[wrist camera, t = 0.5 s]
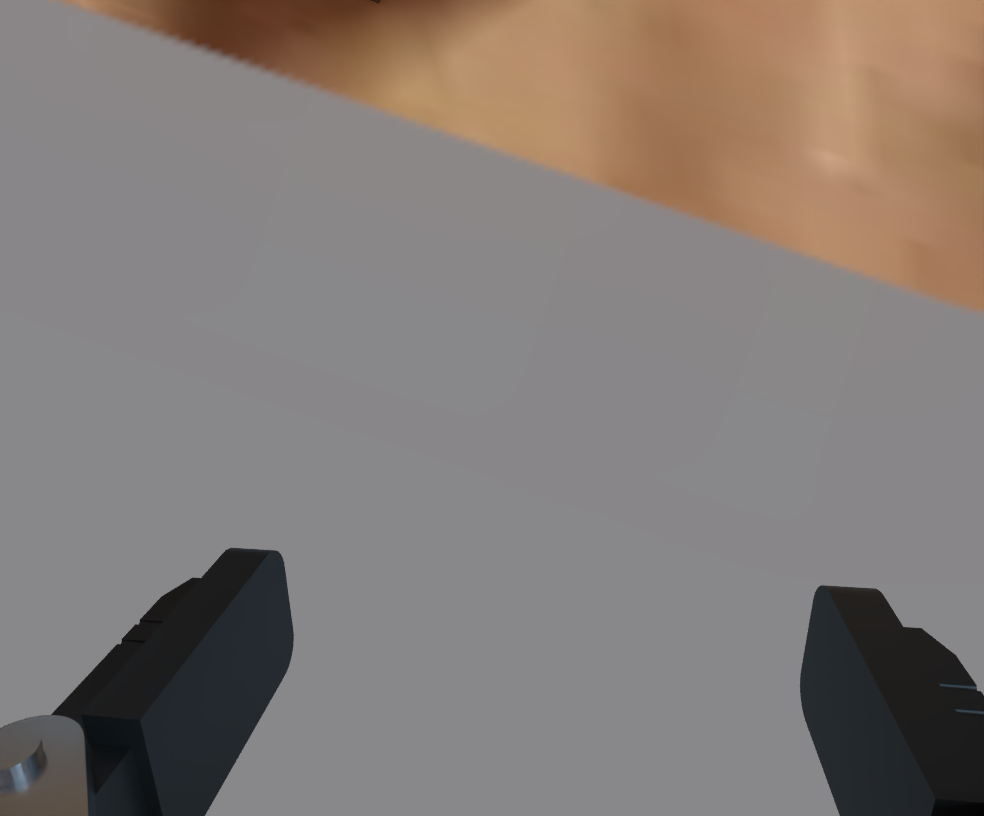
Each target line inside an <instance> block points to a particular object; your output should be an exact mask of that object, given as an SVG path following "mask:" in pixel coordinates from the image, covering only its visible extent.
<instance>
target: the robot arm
mask: <svg viewBox="0 0 984 816" xmlns="http://www.w3.org/2000/svg"><path fill="white" fill-rule="evenodd" d="M293 636H294V634H293V625H292V618H291V610H290V603H289V596H288V589H287V581H286V573H285V566H284V561H283V558H282V556H281V554H280V553H279V552H278V551H274V550H258V549H241V548H230V549H228V550H226V551H225V552H224V553H223V554H222V555H221V556H220V557H219V558H218V560H217V561H216V562H215V563H214V564H213V565H212V566H211V568H210V569H209V570H208V571H207V572H206V573H205V574H204V576H203V577H202V578H191V579H190V580H188V581H186V582H185V583H183V584H182V585H180V586H178V587H177V588H175V589H173V590H172V591H170V592H168V593H167V594H165V595H163V596H162V597H161V598H160V599H159V600H158V601H157V602H156V603H155V604H154V605H153V606H152V607H151V609H150V610H149V611H148V612H147V613H146V614H145V615H144V616H143V617H142V618H141V619H140V623H139V625H135V626H134V627H133V628H132V629H131V630H130V631H129V632H128V633H127V634H126V635H125V636H124V637H123V638H122V643H121V644H117V645H116V646H115V647H114V648H113V649H112V650H111V651H110V652H109V653H108V655H107V656H106V657H105V658H104V659H103V660H102V661H101V662H100V663H99V664H98V665H97V666H96V667H95V668H94V670H93V671H92V672H91V673H90V674H89V675H88V676H87V677H86V678H85V679H84V680H83V681H82V682H81V684H79V686H78V687H77V688H76V689H75V690H74V691H73V692H72V693H71V694H70V695H69V696H68V697H67V698H66V700H65V701H64V702H63V703H62V704H61V705H60V706H59V707H58V708H57V709H56V710H55V711H54V712H53V714H51V715H43V716H36V717H30V718H26V719H23V720H19V721H16V722H13V723H11V724H8V725H6V726H3V727H1V728H0V816H205V814H206V812H207V811H208V809H209V807H210V806H211V804H212V802H213V800H214V799H215V797H216V795H217V793H218V792H219V790H220V788H221V786H222V785H223V783H224V781H225V779H226V778H227V776H228V774H229V772H230V771H231V769H232V767H233V765H234V764H235V762H236V760H237V758H238V757H239V755H240V753H241V751H242V749H243V747H244V746H245V744H246V743H247V741H248V739H249V737H250V735H251V734H252V732H253V730H254V728H255V727H256V725H257V723H258V721H259V720H260V718H261V716H262V714H263V713H264V711H265V709H266V707H267V706H268V704H269V702H270V700H271V699H272V697H273V695H274V693H275V692H276V690H277V688H278V686H279V685H280V683H281V681H282V679H283V677H284V676H285V674H286V671H287V669H288V667H289V664H290V660H291V656H292V651H293V639H294V638H293ZM800 693H801V703H802V709H803V713H804V717H805V721H806V723H807V726H808V729H809V732H810V734H811V737H812V740H813V742H814V745H815V748H816V751H817V754H818V757H819V759H820V762H821V765H822V767H823V770H824V773H825V776H826V779H827V781H828V784H829V787H830V790H831V792H832V795H833V798H834V801H835V803H836V806H837V809H838V811H839V814H840V816H984V695H983V694H982V692H981V691H977V688H976V684H975V682H974V681H973V679H972V678H971V677H970V675H969V674H968V672H967V671H966V670H965V668H964V667H963V665H962V664H961V662H960V661H959V659H958V658H957V656H956V655H955V654H953V653H952V652H951V651H950V650H948V649H947V648H946V647H945V646H943V645H942V644H941V643H939V642H938V641H937V640H936V639H934V638H933V637H932V636H931V635H929V634H928V633H926V632H925V631H924V630H923V629H922V628H909V627H903V626H902V624H901V622H900V621H899V619H898V618H897V616H896V615H895V613H894V611H893V610H892V608H891V607H890V605H889V603H888V602H887V600H886V599H885V597H884V596H883V594H882V593H881V592H880V591H879V590H877V589H871V588H854V587H839V586H819V587H818V589H817V590H816V592H815V595H814V599H813V605H812V610H811V616H810V622H809V628H808V634H807V640H806V646H805V652H804V658H803V663H802V669H801V678H800Z"/></svg>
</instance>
